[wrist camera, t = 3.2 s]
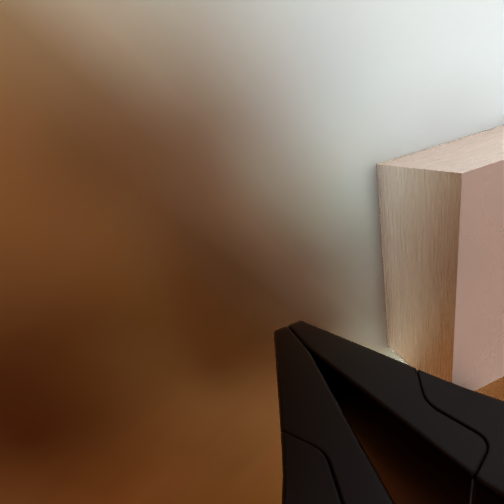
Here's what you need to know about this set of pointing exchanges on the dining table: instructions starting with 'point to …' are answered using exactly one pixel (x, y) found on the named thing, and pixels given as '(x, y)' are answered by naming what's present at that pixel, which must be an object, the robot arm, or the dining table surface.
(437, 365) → the pale pink block
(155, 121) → the dining table surface
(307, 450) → the robot arm
